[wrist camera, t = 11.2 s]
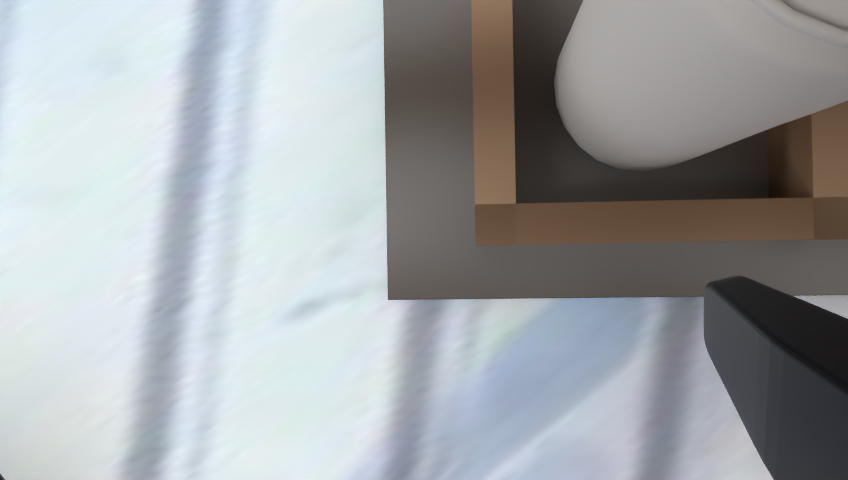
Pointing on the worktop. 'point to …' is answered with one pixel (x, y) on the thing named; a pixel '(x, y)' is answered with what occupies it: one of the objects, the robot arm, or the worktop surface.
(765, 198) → the keeper
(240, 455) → the worktop surface
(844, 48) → the beverage can
